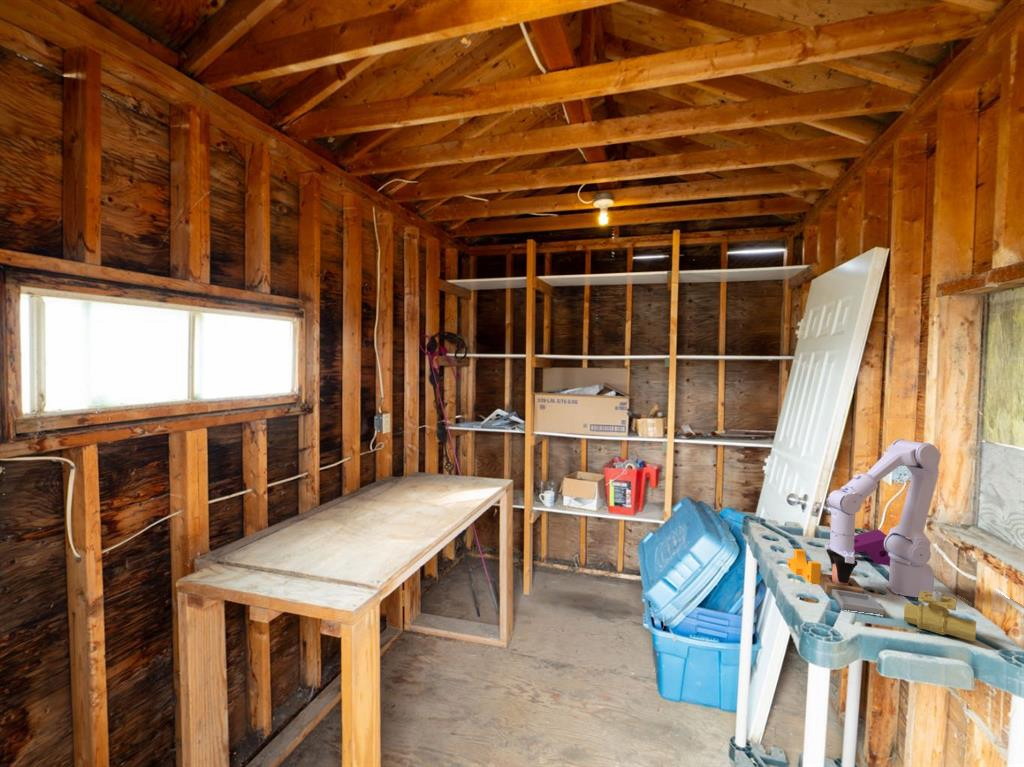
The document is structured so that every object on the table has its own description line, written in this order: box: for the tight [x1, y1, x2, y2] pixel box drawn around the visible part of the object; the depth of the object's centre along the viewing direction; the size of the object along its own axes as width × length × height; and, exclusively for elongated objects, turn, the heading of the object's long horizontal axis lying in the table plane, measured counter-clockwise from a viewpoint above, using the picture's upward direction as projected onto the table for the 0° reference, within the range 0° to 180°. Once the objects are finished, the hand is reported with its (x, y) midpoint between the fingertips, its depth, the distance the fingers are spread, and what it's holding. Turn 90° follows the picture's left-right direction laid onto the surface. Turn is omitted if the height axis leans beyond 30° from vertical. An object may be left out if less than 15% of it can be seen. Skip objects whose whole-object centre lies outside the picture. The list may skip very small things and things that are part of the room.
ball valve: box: [903, 590, 977, 643], centre depth 113 cm, size 13×10×10 cm
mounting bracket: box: [854, 528, 890, 566], centre depth 161 cm, size 9×8×18 cm
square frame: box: [819, 572, 866, 595], centre depth 134 cm, size 9×9×2 cm
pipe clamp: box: [787, 548, 822, 586], centre depth 143 cm, size 12×4×6 cm, turn 170°
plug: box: [831, 563, 849, 586], centre depth 134 cm, size 4×4×7 cm
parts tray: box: [831, 589, 885, 616], centre depth 124 cm, size 9×9×2 cm
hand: (840, 579), depth 134 cm, fingers closed on plug, 4 cm apart
